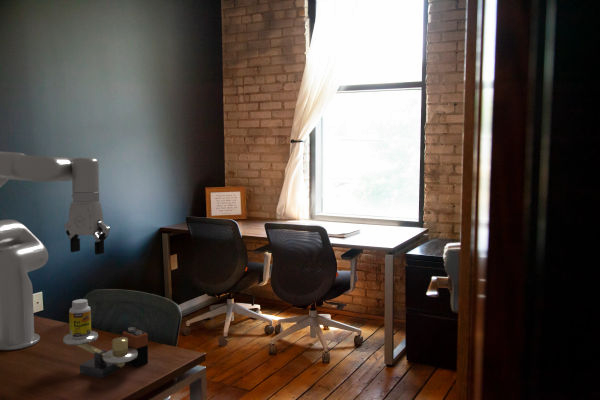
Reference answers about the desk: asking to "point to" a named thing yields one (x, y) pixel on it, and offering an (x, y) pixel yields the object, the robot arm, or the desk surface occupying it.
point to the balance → (99, 357)
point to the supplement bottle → (80, 319)
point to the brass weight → (120, 346)
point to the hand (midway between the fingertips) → (87, 252)
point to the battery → (137, 346)
